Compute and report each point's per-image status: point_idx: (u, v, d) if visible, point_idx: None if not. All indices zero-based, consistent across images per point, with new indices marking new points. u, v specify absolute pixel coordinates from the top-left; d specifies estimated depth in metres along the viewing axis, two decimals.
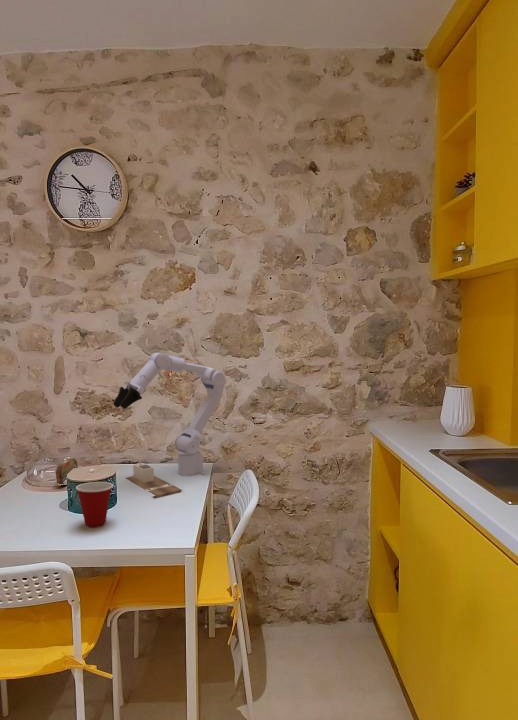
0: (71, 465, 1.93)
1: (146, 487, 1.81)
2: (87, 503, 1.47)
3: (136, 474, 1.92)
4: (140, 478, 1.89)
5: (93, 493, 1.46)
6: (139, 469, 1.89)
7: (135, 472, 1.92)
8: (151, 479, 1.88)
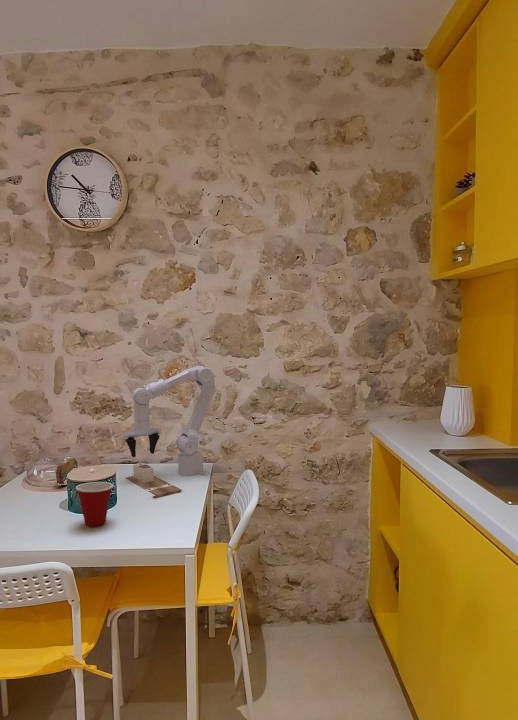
0: (71, 465, 1.93)
1: (146, 487, 1.81)
2: (87, 503, 1.47)
3: (136, 474, 1.92)
4: (140, 478, 1.89)
5: (93, 493, 1.46)
6: (139, 469, 1.89)
7: (135, 472, 1.92)
8: (151, 479, 1.88)
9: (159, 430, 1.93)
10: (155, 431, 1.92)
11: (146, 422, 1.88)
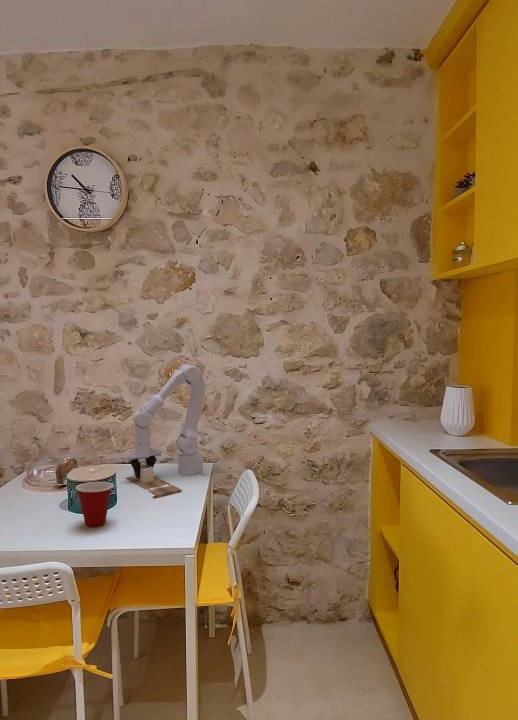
0: (71, 465, 1.93)
1: (146, 487, 1.81)
2: (87, 503, 1.47)
3: None
4: (140, 478, 1.89)
5: (93, 493, 1.46)
6: None
7: None
8: (151, 479, 1.88)
9: (160, 452, 1.94)
10: (156, 453, 1.92)
11: (147, 445, 1.89)
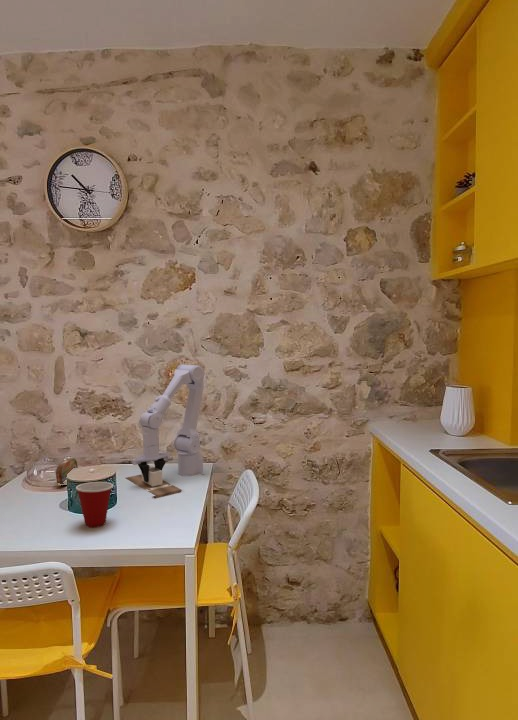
0: (71, 465, 1.93)
1: (146, 487, 1.81)
2: (87, 503, 1.47)
3: None
4: (148, 482, 1.83)
5: (93, 493, 1.46)
6: None
7: None
8: (159, 482, 1.83)
9: (168, 455, 1.88)
10: (164, 456, 1.87)
11: (155, 447, 1.83)
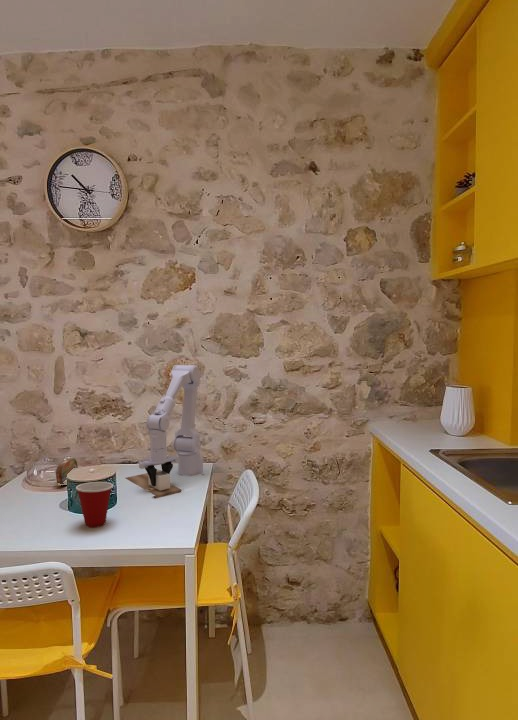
0: (71, 465, 1.93)
1: (146, 487, 1.81)
2: (87, 503, 1.47)
3: None
4: (156, 486, 1.79)
5: (93, 493, 1.46)
6: None
7: None
8: (167, 486, 1.78)
9: (176, 458, 1.84)
10: (172, 459, 1.82)
11: (163, 450, 1.78)
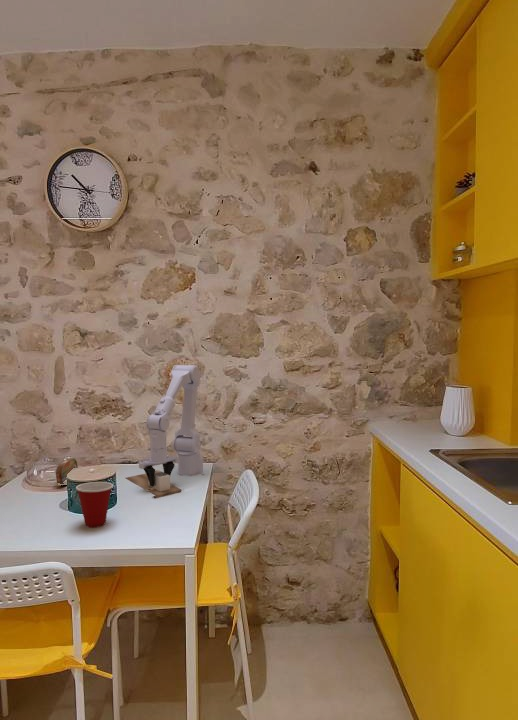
0: (71, 465, 1.93)
1: (146, 487, 1.81)
2: (87, 503, 1.47)
3: None
4: (156, 487, 1.79)
5: (93, 493, 1.46)
6: (155, 477, 1.79)
7: None
8: (167, 487, 1.78)
9: (176, 458, 1.84)
10: (172, 459, 1.82)
11: (163, 450, 1.78)
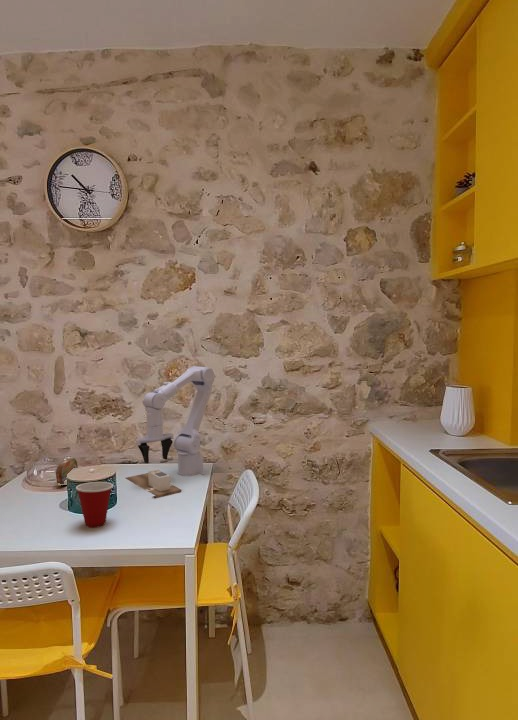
0: (71, 465, 1.93)
1: (146, 487, 1.81)
2: (87, 503, 1.47)
3: (151, 482, 1.82)
4: (156, 487, 1.79)
5: (93, 493, 1.46)
6: (155, 477, 1.79)
7: (150, 480, 1.82)
8: (167, 487, 1.78)
9: (172, 435, 1.89)
10: (168, 436, 1.87)
11: (159, 427, 1.83)
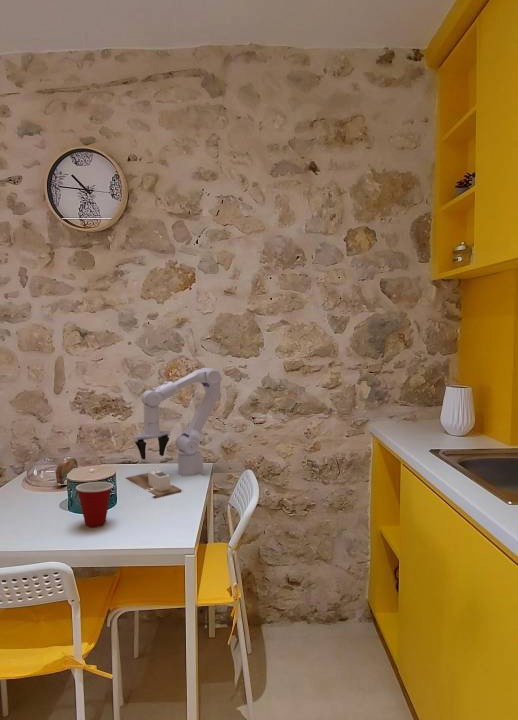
0: (71, 465, 1.93)
1: (146, 487, 1.81)
2: (87, 503, 1.47)
3: (151, 482, 1.82)
4: (156, 487, 1.79)
5: (93, 493, 1.46)
6: (155, 477, 1.79)
7: (150, 480, 1.82)
8: (167, 487, 1.78)
9: (168, 432, 1.94)
10: (165, 433, 1.92)
11: (156, 424, 1.88)
